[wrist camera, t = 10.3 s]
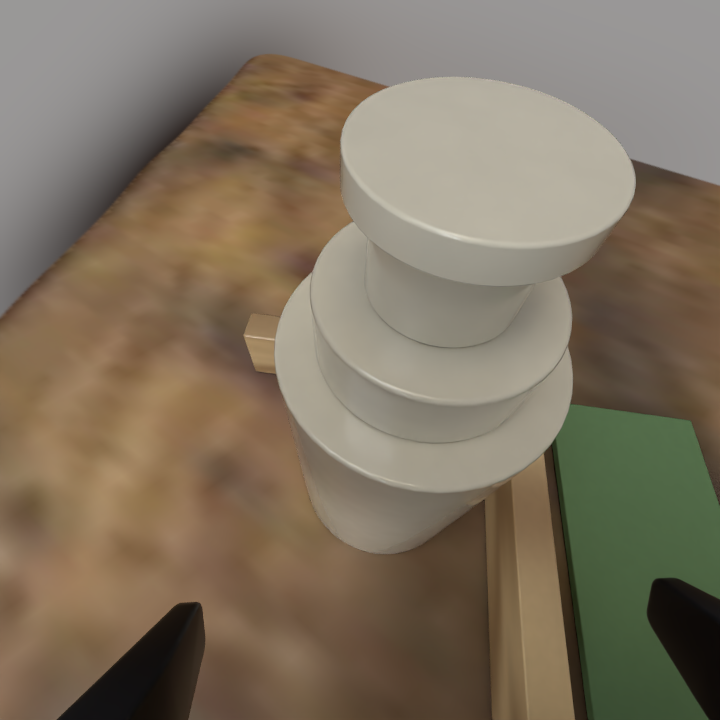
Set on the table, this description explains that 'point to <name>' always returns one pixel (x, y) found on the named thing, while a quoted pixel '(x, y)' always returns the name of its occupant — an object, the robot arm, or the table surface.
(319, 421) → the lidded jar
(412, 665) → the table surface
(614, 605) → the green cloth
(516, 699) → the corner rails
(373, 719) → the table surface
